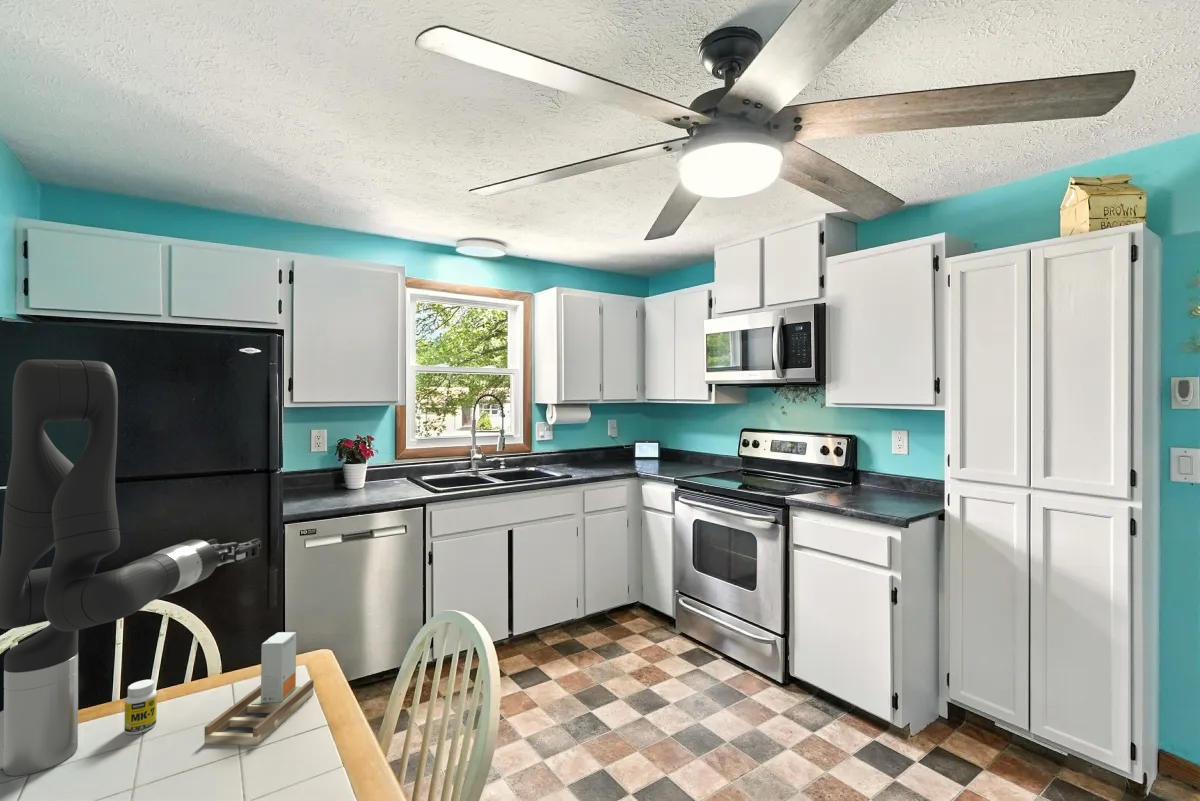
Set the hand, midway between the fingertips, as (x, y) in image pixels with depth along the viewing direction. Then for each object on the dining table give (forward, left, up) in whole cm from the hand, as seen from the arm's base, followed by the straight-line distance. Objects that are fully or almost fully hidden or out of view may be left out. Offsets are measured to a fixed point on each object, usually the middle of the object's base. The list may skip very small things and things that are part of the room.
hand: (236, 543), depth 113 cm
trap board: (+6, -1, -34) cm, 35 cm away
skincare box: (+6, +4, -33) cm, 33 cm away
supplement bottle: (-15, -6, -34) cm, 38 cm away
